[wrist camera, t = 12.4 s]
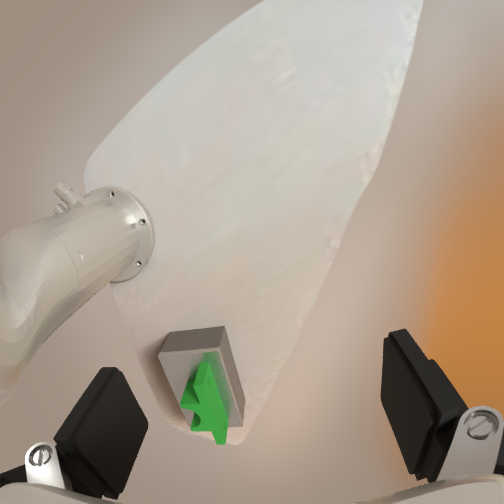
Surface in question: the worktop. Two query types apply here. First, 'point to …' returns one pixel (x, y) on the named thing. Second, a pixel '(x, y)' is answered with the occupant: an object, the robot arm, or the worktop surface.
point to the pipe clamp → (205, 404)
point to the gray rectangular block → (187, 363)
